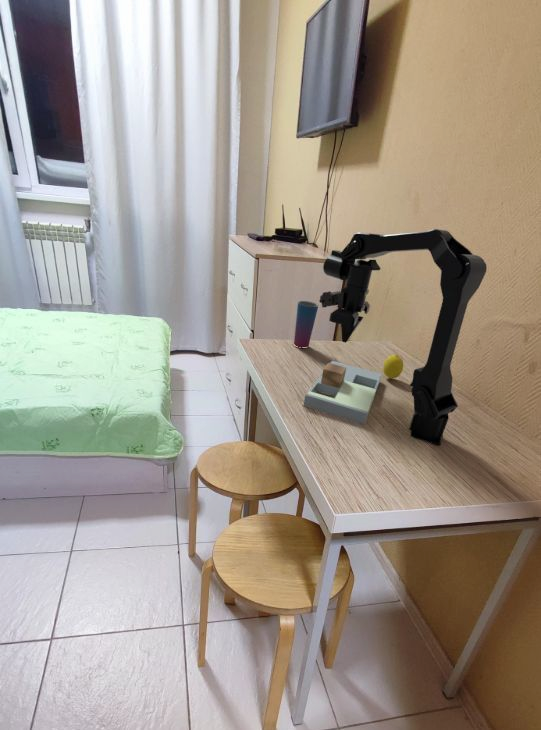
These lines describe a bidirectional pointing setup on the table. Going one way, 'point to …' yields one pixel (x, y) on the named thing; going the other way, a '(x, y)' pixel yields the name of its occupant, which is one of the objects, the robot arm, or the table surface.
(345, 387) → the board
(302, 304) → the cup
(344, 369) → the block
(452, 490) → the table surface
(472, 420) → the table surface
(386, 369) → the lemon
